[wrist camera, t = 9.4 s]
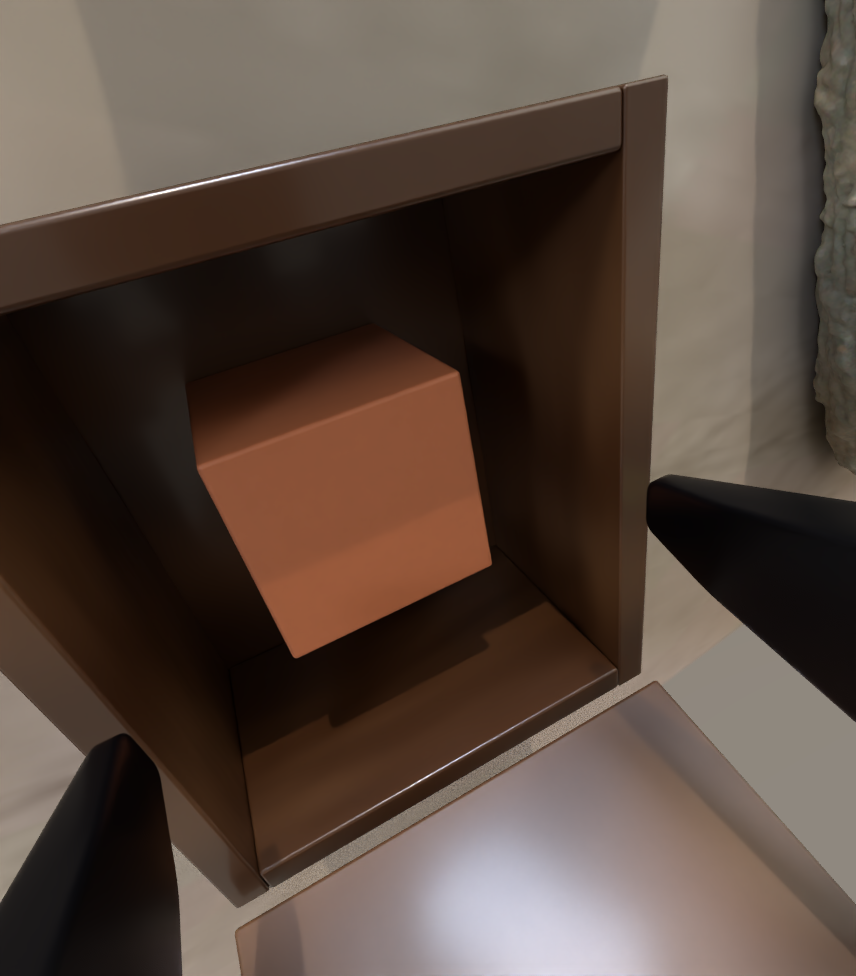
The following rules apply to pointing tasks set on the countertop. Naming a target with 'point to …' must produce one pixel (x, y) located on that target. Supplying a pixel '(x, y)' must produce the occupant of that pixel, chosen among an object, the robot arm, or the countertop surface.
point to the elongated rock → (838, 233)
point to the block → (342, 479)
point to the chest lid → (577, 874)
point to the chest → (297, 322)
